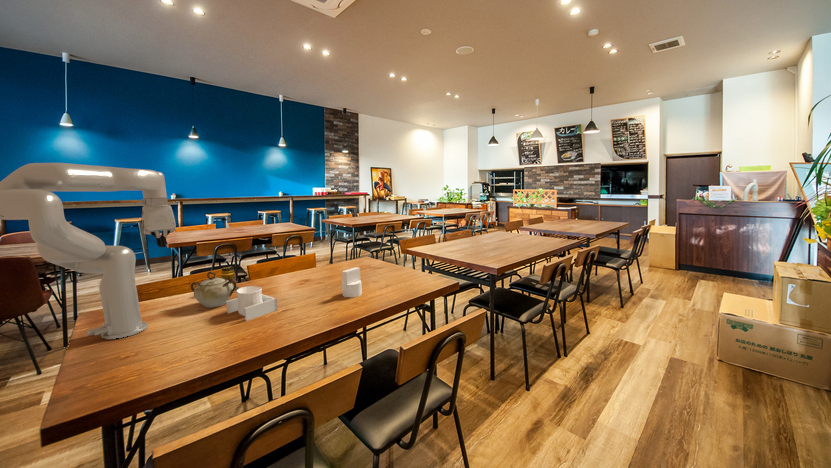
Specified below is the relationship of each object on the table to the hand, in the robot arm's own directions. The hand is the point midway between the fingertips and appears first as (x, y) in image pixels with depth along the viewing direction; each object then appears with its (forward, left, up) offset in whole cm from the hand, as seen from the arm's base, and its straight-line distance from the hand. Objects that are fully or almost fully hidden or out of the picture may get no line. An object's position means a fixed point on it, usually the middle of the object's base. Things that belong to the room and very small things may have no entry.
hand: (162, 246), depth 134 cm
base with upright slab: (+55, -53, -27) cm, 81 cm away
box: (+17, -33, -27) cm, 46 cm away
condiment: (+26, +4, -27) cm, 38 cm away
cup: (+17, -33, -27) cm, 46 cm away
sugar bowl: (+13, -11, -27) cm, 32 cm away
